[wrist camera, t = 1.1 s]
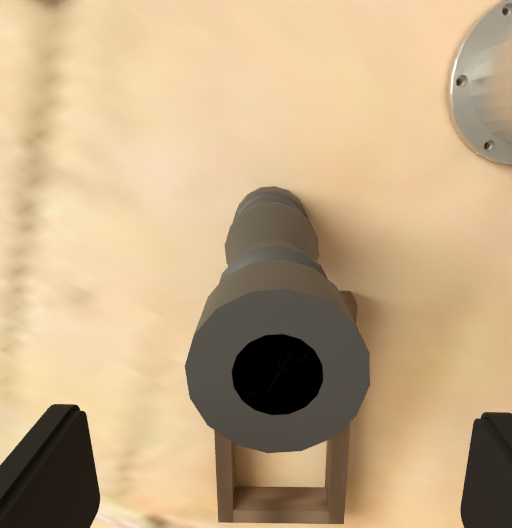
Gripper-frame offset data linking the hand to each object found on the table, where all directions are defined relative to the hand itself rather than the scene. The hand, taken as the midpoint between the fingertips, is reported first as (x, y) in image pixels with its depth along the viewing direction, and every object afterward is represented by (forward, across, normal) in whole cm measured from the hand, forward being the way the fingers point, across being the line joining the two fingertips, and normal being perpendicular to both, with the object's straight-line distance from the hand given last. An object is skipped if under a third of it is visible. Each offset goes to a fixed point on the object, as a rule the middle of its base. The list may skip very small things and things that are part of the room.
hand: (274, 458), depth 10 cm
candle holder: (+28, +1, 0) cm, 28 cm away
